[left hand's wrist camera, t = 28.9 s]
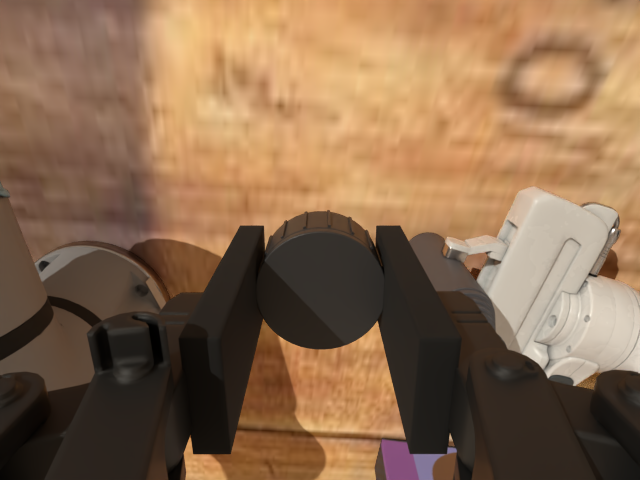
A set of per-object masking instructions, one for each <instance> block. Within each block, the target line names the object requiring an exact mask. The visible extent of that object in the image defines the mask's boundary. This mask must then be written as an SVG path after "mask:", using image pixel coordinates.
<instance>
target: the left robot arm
mask: <svg viewBox="0 0 640 480" xmlns="http://www.w3.org/2000/svg"><path fill="white" fill-rule="evenodd" d="M9 197H10V194H9V192H8V191H7V190H6V189H4V188H3V186H2V184H1V182H0V480H185V477H186V468H185V461H184V454H183V453H184V451H185V448H186V445H187V442H188V440H189V437H190V434H191V440H192V448H193V454H231V450H232V446H233V442H234V438H235V434H236V429H237V425H238V421H239V417H240V413H241V409H242V404H243V400H244V396H245V392H246V388H247V384H248V379H249V375H250V371H251V367H252V363H253V359H254V354H255V350H256V346H257V342H258V338H259V333H260V329H261V325H262V321H263V317H262V315H261V313H260V311H259V308H258V305H257V292H256V280H257V276H258V271H259V268H260V265H261V262H262V259H263V256H264V253H265V241H264V226H240V227H239V229H238V231H237V233H236V235H235V236H234V238H233V240H232V242H231V244H230V245H229V247H228V249H227V251H226V253H225V254H224V256H223V258H222V260H221V262H220V264H219V265H218V267H217V269H216V271H215V273H214V274H213V276H212V278H211V280H210V282H209V284H208V285H207V287H206V289H205V291H204V293H180V294H178V295H177V296H175V297H174V298H172V299H171V300H170V298H169V295H168V292H167V290H166V288H165V286H164V284H163V282H162V281H161V279H160V278H159V276H158V275H157V274H156V273H155V271H154V270H153V269H152V268H151V267H150V266H149V265H148V264H147V263H145V262H144V261H143V260H142V259H140V258H139V257H138V256H136V255H134V254H133V253H131V252H129V251H127V250H125V249H123V248H121V247H118V246H115V245H112V244H108V243H104V242H97V241H79V242H73V243H69V244H65V245H63V246H60V247H58V248H56V249H54V250H52V251H51V252H49V253H48V254H46V255H44V256H43V257H42V258H40V259H39V260H38V261H36V262H35V263H34V262H33V259H32V257H31V255H30V252H29V250H28V247H27V245H26V242H25V240H24V237H23V235H22V232H21V229H20V227H19V224H18V222H17V219H16V217H15V214H14V212H13V209H12V207H11V204H10V201H9V199H8V198H9ZM375 248H377V250H378V253H379V256H380V259H381V262H382V265H383V272H384V275H385V278H384V297H383V311H382V313H381V315H380V317H379V319H378V324H379V328H380V332H381V336H382V341H383V345H384V349H385V353H386V357H387V362H388V366H389V370H390V374H391V378H392V382H393V387H394V391H395V395H396V399H397V403H398V407H399V412H400V416H401V420H402V424H403V428H404V432H405V437H406V441H407V445H408V449H409V453H410V454H447V450H448V443H449V435H450V434H451V437H452V439H453V442H454V445H455V447H456V450H457V453H456V461H455V468H454V475H453V480H640V373H638V372H635V371H627V370H609V371H604V372H602V373H601V374H600V375H599V376H598V377H597V378H596V382H595V386H594V390H592V389H587V388H582V387H577V386H572V385H567V384H562V383H558V382H555V381H551V380H549V379H548V377H547V375H546V373H545V372H544V370H543V369H542V368H541V366H540V365H539V364H538V363H537V362H535V361H534V360H532V359H531V358H529V357H528V356H526V355H523V354H521V353H518V352H516V351H513V350H508V349H507V347H506V346H505V344H504V343H503V342H502V340H501V339H500V337H499V336H498V334H497V333H496V332H495V330H494V329H493V327H492V326H491V324H490V323H488V320H487V319H486V317H485V316H484V314H482V313H481V310H480V309H479V307H478V306H477V304H476V303H475V302H474V300H472V299H471V298H469V297H468V296H466V295H464V294H463V293H461V292H460V291H436V290H435V288H434V287H433V285H432V283H431V281H430V279H429V278H428V276H427V274H426V272H425V270H424V268H423V267H422V265H421V263H420V261H419V259H418V258H417V256H416V254H415V252H414V250H413V248H412V247H411V245H410V243H409V241H408V239H407V238H406V236H405V234H404V232H403V230H402V229H401V227H400V226H376V247H375Z"/></svg>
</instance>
